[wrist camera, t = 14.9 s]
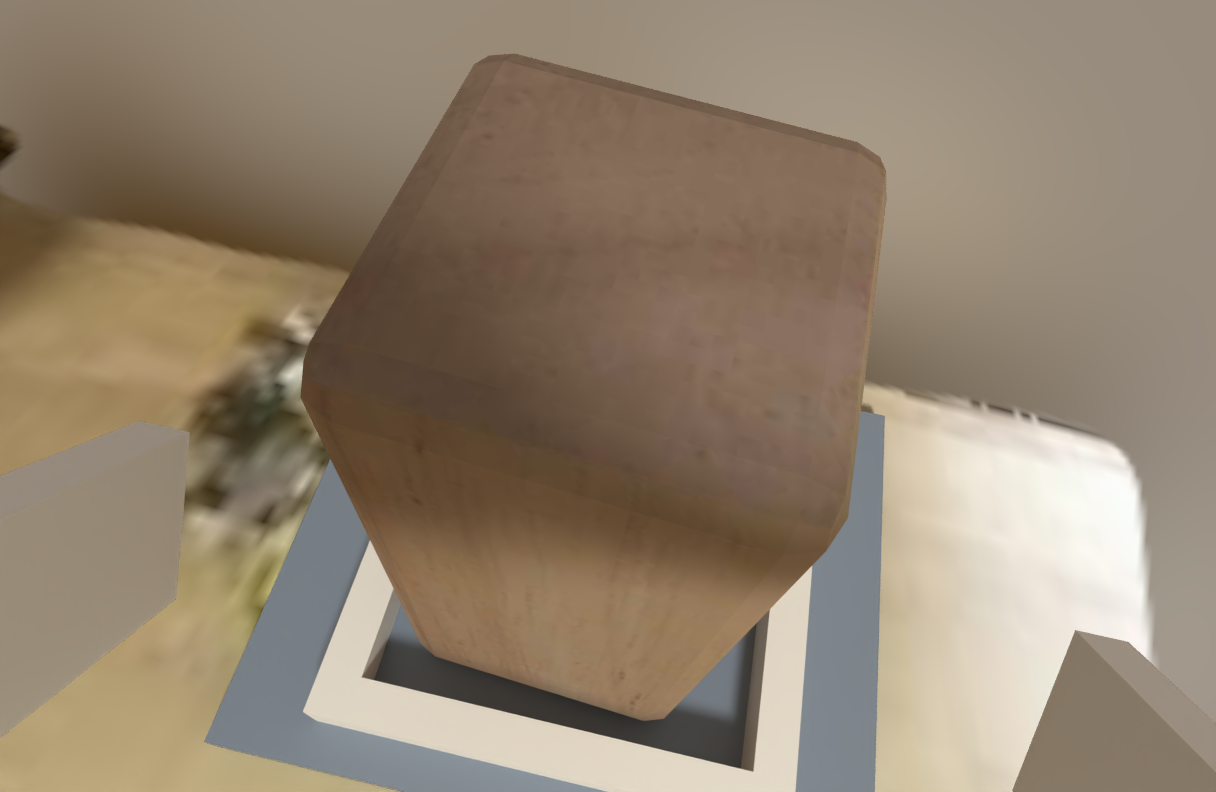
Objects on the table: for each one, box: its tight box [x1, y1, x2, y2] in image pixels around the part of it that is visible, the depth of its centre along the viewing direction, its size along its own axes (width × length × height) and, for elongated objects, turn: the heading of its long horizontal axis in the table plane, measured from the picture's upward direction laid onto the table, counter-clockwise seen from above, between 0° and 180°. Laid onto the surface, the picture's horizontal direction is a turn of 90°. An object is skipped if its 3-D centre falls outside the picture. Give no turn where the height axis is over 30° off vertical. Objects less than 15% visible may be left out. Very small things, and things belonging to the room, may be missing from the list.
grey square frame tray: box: [204, 411, 885, 792], centre depth 32 cm, size 24×20×3 cm
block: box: [301, 54, 886, 721], centre depth 23 cm, size 10×10×20 cm
